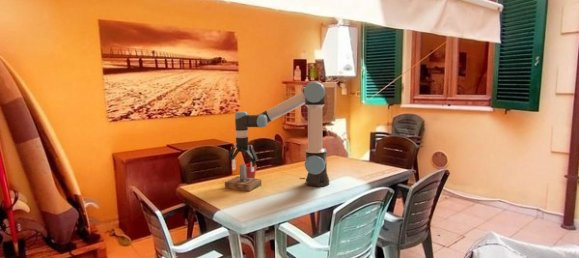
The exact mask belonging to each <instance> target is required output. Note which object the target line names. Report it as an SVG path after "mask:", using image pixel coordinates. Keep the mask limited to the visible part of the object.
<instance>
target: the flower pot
mask: <svg viewBox="0 0 579 258" xmlns="http://www.w3.org/2000/svg"><path fill="white" fill-rule="evenodd" d="M244 164H245V165H246V176H247V178H255V179H256V173H257V164H256V163H255V166H254V172H251V163H244Z"/></svg>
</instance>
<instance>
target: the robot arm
mask: <svg viewBox="0 0 579 258" xmlns="http://www.w3.org/2000/svg"><path fill="white" fill-rule="evenodd" d="M326 93H327V89H326V86H325V84H323V83H322V82H320V81H316V80H313V81H310V82H308V83H306V85H305V87H304V89H301V92H300V93H297V94H295V95H293V96H291V97H289V98H288V99H286V100H284V101H282V102H280V103H278V104H276V105H275V106H272V107H270V108H268V109H266V110H264V111H263V112H261V113H258V114H248V112H247V111H236V112H235V113H234V124H235V125H234V126H235V127H234V128H235V143H232V144H231V149H230V151H229V153H228V157H227V159H229V160H230V165H231V167H232V168H231V170H232V171H235V170H236V169H237V168H236V167H237V166H236V165H237V164H236V157H237V155H238V154H239V153H244V154H246V155H247V156H248V158H249V160H250V164H251V172H254V166H255V164H256V161H259V159H258V158H259V157H258V156H257V154H256V151H255V149H254V145H253V144H249V128H266V127H267V126H268V123H271V122H273V121H275V120H276V119H278V118H281V117H282V116H284V115H286V114H288V113H290V112H292V111H294V110H296V109H298V108H300V107H302V106H305V107H307V149H305V161H304V168H305V170H306V171H307V175H306V178H305V184H306V185H307V186H309V187H315V188H316V187H317V188H319V187H326V186H329V185H330V179H329V175H328V171H327V165H328V163H327V161H328V160H327V158H328V156H327V155H328V150H327V149H326V148H323V141H324V140H323V137H324V136H323V108H324V106H325V105H326Z"/></svg>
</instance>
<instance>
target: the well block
mask: <svg viewBox="0 0 579 258" xmlns="http://www.w3.org/2000/svg"><path fill="white" fill-rule="evenodd" d="M239 180H240V175H239V176H235V177H233V178H231V179H228V180H226V181H224V189H228V190H234V191H235V190H236V191H240V192H241V191H242V192H252V191H253V190H255V189H257V188H259V187H262V179H260V178H256V177H255V178H247V180H249V181H247V182H245V183H244V182H238V181H239Z"/></svg>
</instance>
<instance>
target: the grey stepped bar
mask: <svg viewBox="0 0 579 258" xmlns="http://www.w3.org/2000/svg"><path fill="white" fill-rule="evenodd" d="M245 164H246V163H242V164H239V165H238V166H239V167H238V168H239V177H240V180H239V181H238V182H244V183H245V182H247V181H249V180H247V176H246V165H245Z"/></svg>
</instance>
